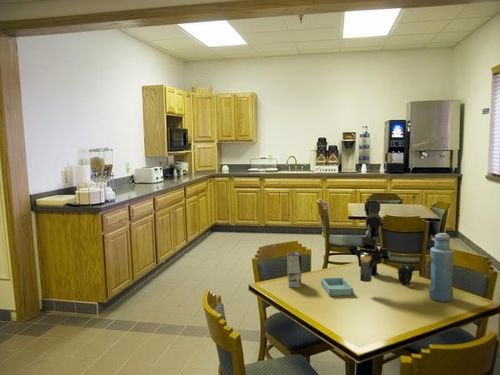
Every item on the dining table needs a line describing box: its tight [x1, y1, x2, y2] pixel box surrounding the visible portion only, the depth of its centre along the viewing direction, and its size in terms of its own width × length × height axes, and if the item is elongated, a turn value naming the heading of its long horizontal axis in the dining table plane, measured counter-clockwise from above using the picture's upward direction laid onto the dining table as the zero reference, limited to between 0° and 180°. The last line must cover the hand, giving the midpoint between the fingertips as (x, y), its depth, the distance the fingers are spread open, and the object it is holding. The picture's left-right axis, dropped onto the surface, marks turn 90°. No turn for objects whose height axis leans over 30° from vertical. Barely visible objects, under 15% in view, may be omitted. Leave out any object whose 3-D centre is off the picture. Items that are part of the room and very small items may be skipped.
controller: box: [397, 264, 416, 285], centre depth 202 cm, size 4×12×10 cm, turn 132°
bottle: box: [428, 232, 455, 303], centre depth 180 cm, size 10×10×30 cm
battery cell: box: [359, 252, 372, 283], centre depth 186 cm, size 5×5×13 cm
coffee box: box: [286, 250, 302, 288], centre depth 201 cm, size 9×6×16 cm
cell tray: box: [320, 276, 354, 297], centre depth 193 cm, size 16×11×4 cm
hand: (365, 267), depth 185 cm, fingers closed on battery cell, 5 cm apart
